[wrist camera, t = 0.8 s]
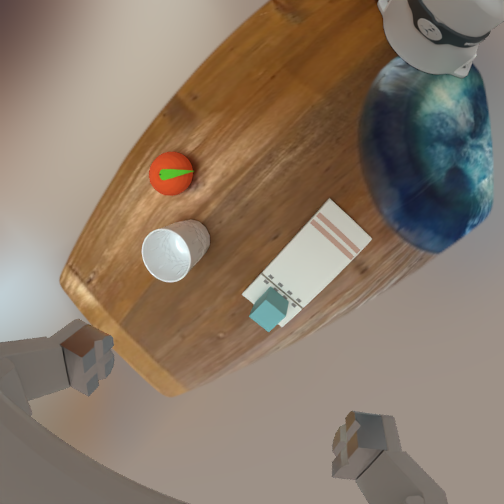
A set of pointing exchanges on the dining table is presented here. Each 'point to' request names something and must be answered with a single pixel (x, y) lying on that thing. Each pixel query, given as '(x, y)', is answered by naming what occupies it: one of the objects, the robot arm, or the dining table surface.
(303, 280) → the ticket
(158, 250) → the white cup
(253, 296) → the stub
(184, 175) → the clementine
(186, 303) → the dining table surface
